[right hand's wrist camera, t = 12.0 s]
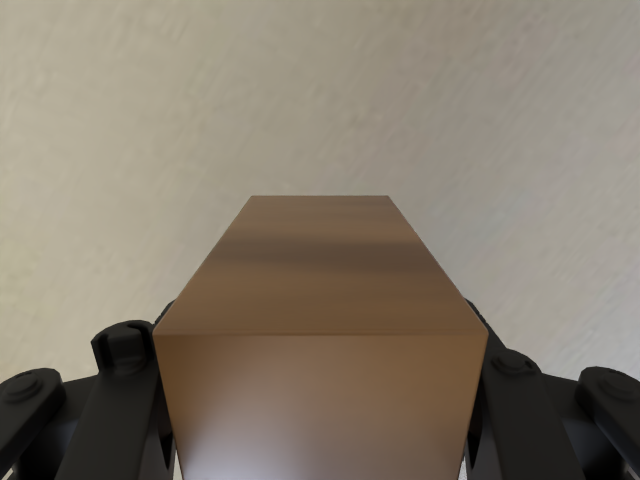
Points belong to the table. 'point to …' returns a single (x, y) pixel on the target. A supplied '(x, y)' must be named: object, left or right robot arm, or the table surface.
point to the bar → (320, 349)
